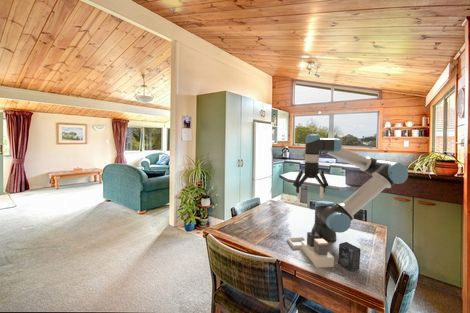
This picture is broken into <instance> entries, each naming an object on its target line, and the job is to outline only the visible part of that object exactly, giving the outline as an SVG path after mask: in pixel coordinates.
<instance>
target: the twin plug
mask: <svg viewBox="0 0 470 313" xmlns="http://www.w3.org/2000/svg"><path fill="white" fill-rule="evenodd" d="M311 231H312V232H309V231H308V232H307V233H306V235H307V236H306V240H307V243H308V245H309V246H310V247H314V239H320V236H319V235H318V234H317V233H316V232H315V228H313V227H312V228H311Z"/></svg>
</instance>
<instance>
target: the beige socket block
mask: <svg viewBox="0 0 470 313" xmlns="http://www.w3.org/2000/svg"><path fill="white" fill-rule="evenodd" d="M300 250H301V251H302V252H303V253H304V254H305V255H306V256H307V258H308V259H309V260H310V261H311V262H312V265H313V266H314V267H315V268H316V269H320V268H321V269H322V268H334V265H335V264H334V263H335V257H334V256H333V255H336V253H335V252H333V251H332V252H330V251H328V255H318V254H317V253H316V252H315V251H314V247H310V246H309V245H308V243H307V241H301V249H300Z"/></svg>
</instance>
